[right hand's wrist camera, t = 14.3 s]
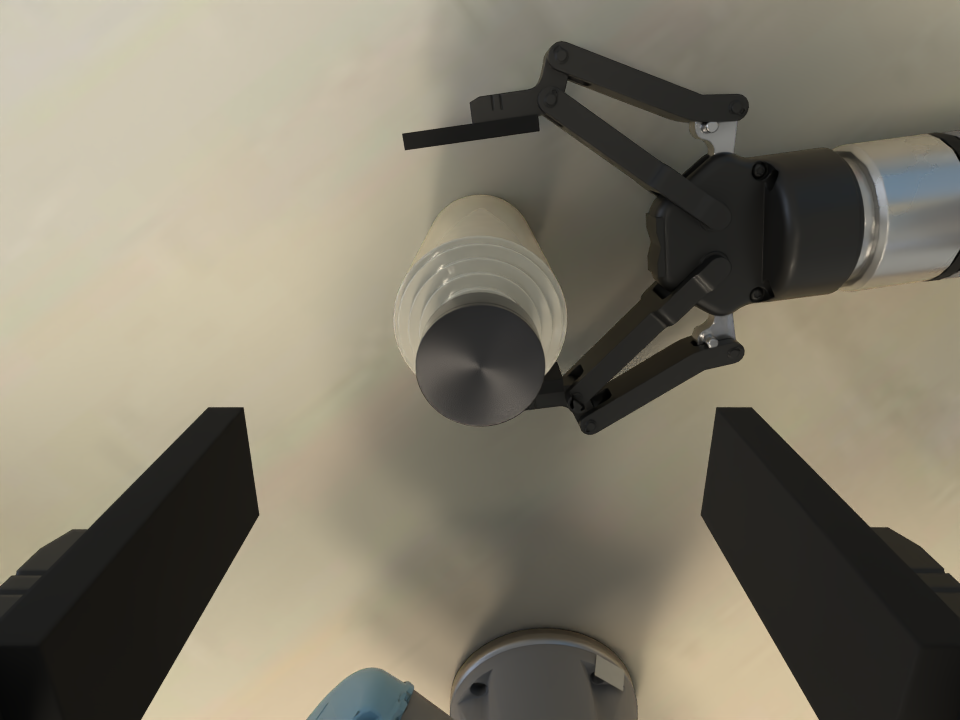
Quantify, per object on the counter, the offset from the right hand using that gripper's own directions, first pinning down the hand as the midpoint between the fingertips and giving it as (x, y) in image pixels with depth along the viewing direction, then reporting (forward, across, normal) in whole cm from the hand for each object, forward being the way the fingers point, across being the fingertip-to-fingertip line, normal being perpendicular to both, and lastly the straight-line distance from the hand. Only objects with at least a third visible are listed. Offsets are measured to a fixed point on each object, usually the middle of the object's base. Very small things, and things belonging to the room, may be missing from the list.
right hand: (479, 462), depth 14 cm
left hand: (+21, -3, 0) cm, 21 cm away
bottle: (+27, 0, 0) cm, 27 cm away
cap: (+6, 0, 0) cm, 6 cm away
